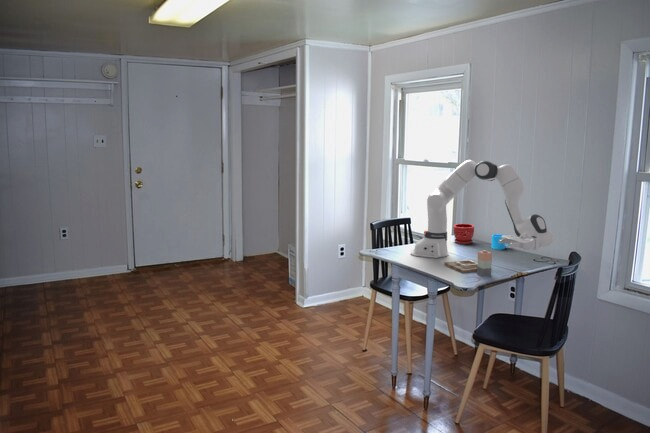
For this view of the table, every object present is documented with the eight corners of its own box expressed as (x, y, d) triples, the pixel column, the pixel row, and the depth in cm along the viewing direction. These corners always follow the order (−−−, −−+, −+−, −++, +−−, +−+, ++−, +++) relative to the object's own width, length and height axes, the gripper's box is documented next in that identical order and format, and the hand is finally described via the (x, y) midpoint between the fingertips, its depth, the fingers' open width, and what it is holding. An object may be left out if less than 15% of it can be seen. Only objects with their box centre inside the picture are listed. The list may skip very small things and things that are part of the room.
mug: (493, 249, 326) (494, 237, 325) (489, 246, 334) (490, 234, 333) (512, 249, 326) (513, 236, 325) (508, 246, 334) (509, 234, 333)
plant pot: (451, 240, 353) (452, 223, 351) (471, 240, 351) (472, 223, 349) (454, 244, 340) (455, 227, 338) (475, 245, 339) (475, 227, 337)
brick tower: (477, 273, 273) (478, 250, 270) (485, 272, 274) (486, 249, 272) (482, 276, 268) (483, 252, 266) (490, 275, 270) (492, 251, 267)
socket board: (444, 264, 291) (444, 260, 290) (471, 262, 296) (471, 257, 296) (462, 273, 274) (462, 268, 273) (491, 269, 280) (491, 265, 279)
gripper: (513, 231, 286) (493, 233, 281) (540, 238, 267) (518, 241, 262) (513, 243, 287) (492, 245, 282) (540, 250, 268) (518, 253, 263)
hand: (505, 243), depth 272 cm, fingers open, 8 cm apart
